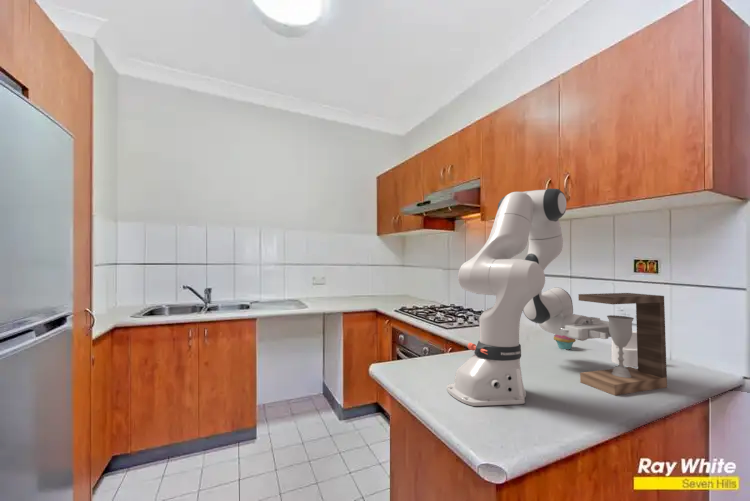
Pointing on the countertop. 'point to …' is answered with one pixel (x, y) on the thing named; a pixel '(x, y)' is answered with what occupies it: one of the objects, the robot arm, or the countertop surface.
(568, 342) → the cupcake
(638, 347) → the wooden c-shaped stand
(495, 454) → the countertop surface
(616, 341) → the chalice
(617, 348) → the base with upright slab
